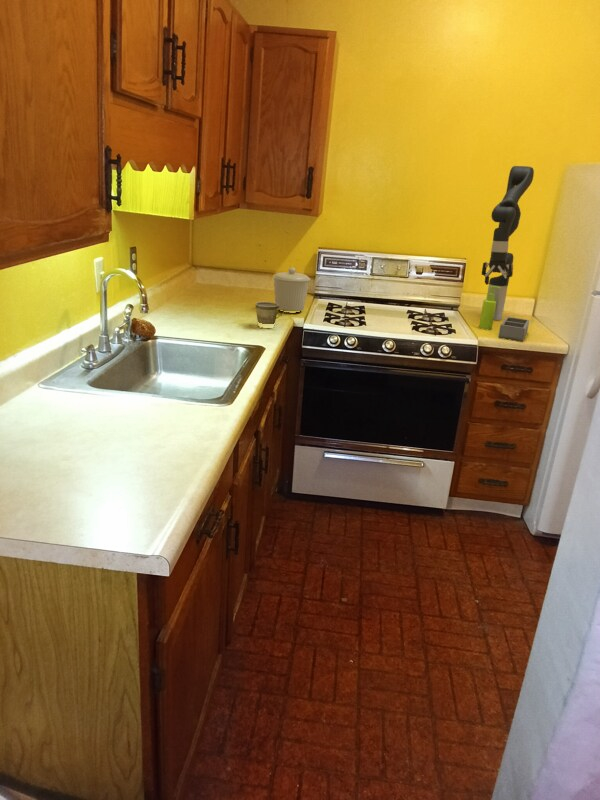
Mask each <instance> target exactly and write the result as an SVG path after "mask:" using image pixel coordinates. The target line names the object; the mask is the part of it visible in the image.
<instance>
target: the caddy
mask: <svg viewBox="0 0 600 800" xmlns="http://www.w3.org/2000/svg"><path fill="white" fill-rule="evenodd" d="M529 325H530V319H523V318H517V317H510V316H506V317H505V318H504V319H503V321H502V322H501V324H500V327H499V332H498V337H499V338H498V337H497V338H498V339H502V338H505V339H504V340H508V339H511V340H510V341H514V340H515V342H521V343H522V342H523V341H524V340H525V338H526V336H527V334H528V330H529Z"/></svg>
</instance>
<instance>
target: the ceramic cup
mask: <svg viewBox="0 0 600 800" xmlns="http://www.w3.org/2000/svg"><path fill="white" fill-rule="evenodd" d="M279 309H282V310H283V312H281V314H279V315H278V312H279V311H278V310H279ZM255 312H256V318H257V319H256V320H257V323H258V322H259V323H262V324H274V323H275V324H276V321H277V319H278V318H280V317H281V316H282V315H284V314H285V313H284V309H283V308H279V304H277V303H275V302H272V301H258V302H255ZM277 315H278V316H277Z"/></svg>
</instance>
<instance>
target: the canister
mask: <svg viewBox="0 0 600 800" xmlns="http://www.w3.org/2000/svg"><path fill="white" fill-rule="evenodd" d="M272 278H273V286H274V287H273V288H274V290H273V291H274V303H277V304H279V308H283V309H284V311H302V310H303V311H304V308H305V304H306V299H307V293H308V289H309V283H310V281H311V280H312V279H311V278H310V277H309V276H308V275H306V274H304V273H299V272H297V271H296V268H295V267H289V268H288V269H287V272H283V271H282V272H278V273H275V274H274V275H272ZM279 310H282V309H279ZM303 311H302V312H303Z"/></svg>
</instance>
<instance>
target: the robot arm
mask: <svg viewBox="0 0 600 800" xmlns="http://www.w3.org/2000/svg"><path fill="white" fill-rule="evenodd" d="M534 174H535V170H534V168H533V167H532V166H525V165H524V166H523V165H514V166H512V167H511V168H510V170H509V174H508V179H507V186H506V191H505V195H504V196H503V198H502V199H501V201H500V202H499V203H498V204H497V205H495V206H494V207H493V210H492V211H491V216H490V217H491V219H492V221H493V222H494V223H498V227H496V228H495V229H494V231H493V238H492V243H491V248H490V250H491V251H490V259H489V262H487V261H485V262H483V263H482V269H481V275H482V276H484V277H485V278H484V284H485V285H488V287H487V294H488V293H489V292H490V288H489V286H497V287H500V288H501V289H498V288H494V292H493V293H494V294H495V297H494V301H496V307H495V313H494V318H493V321H501V320H502V319H503V314H504V310H505V309H504V308H505V303H506V298H507V293H508V286H509V283H510V278H512V277H513V273H514V271H513V269H514V263H513V262H514V254H513V253H511V252H508V251H509V239H510V237H511V236H512V235H513V234H514V232H516V230H517V229H518V227H519V224H520V219H521V216H522V214H521V208H520V205H519V204H518V203H519V201H520V199H521V197H522V196H523V195H524V193H525V192H527V190H528V189H529V187H530V186H531V184H532V183H533V180H534ZM487 268H489V270H488V271H487ZM492 273H498V274H500V273H501V275H498V276H494V277H493V276H492V277H491V278H490V275H491V274H492ZM487 294H486V295H487ZM485 300H487V297H486V299H485Z"/></svg>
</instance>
